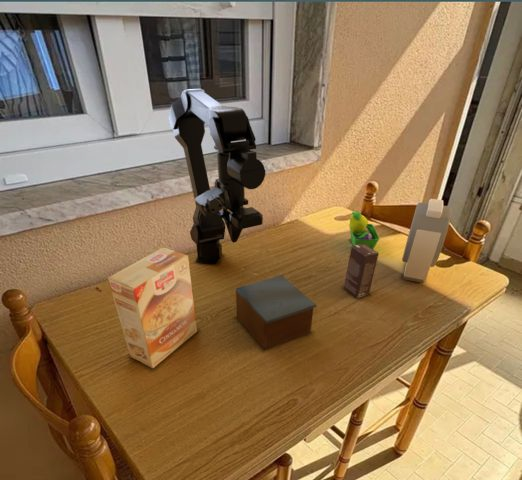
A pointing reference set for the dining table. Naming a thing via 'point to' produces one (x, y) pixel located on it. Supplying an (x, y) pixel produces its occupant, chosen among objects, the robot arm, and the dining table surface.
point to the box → (360, 270)
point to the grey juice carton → (425, 239)
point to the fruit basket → (362, 231)
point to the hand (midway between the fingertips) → (234, 241)
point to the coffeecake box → (155, 305)
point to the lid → (275, 298)
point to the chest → (273, 325)
